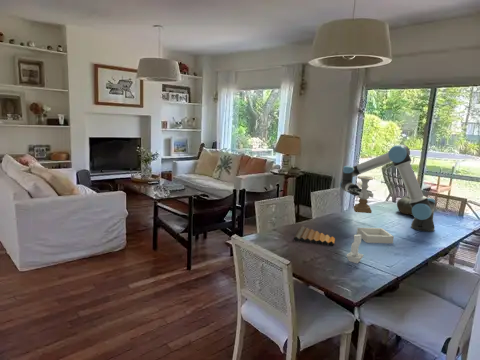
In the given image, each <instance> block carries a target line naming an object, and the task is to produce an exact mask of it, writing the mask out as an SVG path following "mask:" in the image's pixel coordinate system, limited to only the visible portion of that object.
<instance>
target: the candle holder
mask: <svg viewBox="0 0 480 360" xmlns="http://www.w3.org/2000/svg"><path fill="white" fill-rule="evenodd" d="M357 179H359V180H360V182H362V183H361V185H360V189H362V190H361V192H360V193H363V198H361V197H359V196H357V197H358V203H355V204H354V205H353V211H354V212H355V213H362V214H372V211H373V210H372V209H371V207H370V205H369V204H368V202H369V201H368V199H369V198H370V196H369V194H368V192H367V190H368V189H369V185H368V184H369V182H370V181H373V180H374V177H372V176H366V175H365V176H364V175H357Z"/></svg>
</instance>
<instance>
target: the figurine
mask: <svg viewBox="0 0 480 360" xmlns="http://www.w3.org/2000/svg"><path fill="white" fill-rule="evenodd" d="M361 244H362V235H360V234H358V235H357V234H354V235H353V242H352V243H351V247H350V252H348V253H347V254H346V258H347V260H348V261H349V262H351V263H354V264H359V263H360V262H361V260H362V259H363V257H365V256H364V255H365V254H362V253H360V252H359V249H360V248H359V247H360V245H361Z"/></svg>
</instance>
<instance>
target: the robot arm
mask: <svg viewBox="0 0 480 360" xmlns="http://www.w3.org/2000/svg"><path fill="white" fill-rule="evenodd" d="M390 163H392V164H393V167H394V168H397V169H398V172H399V175H400V177H401V179H402V182H403V185H404V187H405V190H406V192H407V195H409V197H410V199H411V201H410V205H411V208H412V214H413V215H412V216H413V217H414V218H413V219H412V222H411V225H410V227H411V228H412V229H413V230H416V231H419V232H426V233H427V232H434V231H435V224H434V213H435V204H436V199H434V198H431V197H427V196H425V195H424V193H423V191H422V188H421V186H420V183H419V181H418V179H417V176H416V174H415V172H414V169H413V168H412V165H411V163H412V159H411V149H410V148H409V147H408V146H407V145H405V144H396V145H394V146H392V147H391V148H390V149H389V150H388V152H386V153H383V154H381V155H379V156H376V157H374V158H371V159H369V160H366V161H364V162H362V163H359V164H357V165H354V166H351V165H344V166H343V169H342V178H341V181H340V183H339V188H340V189H341V190H343V191H344V192H347V193H348V194H351V195H352V196H354V197H358V196H359V197H361V198H363V193H360V192H361V190H362V188H361V187H359V185H357V184H355V183H353V179H354V178H353V177H358V176H360V175H362V174H364V173H367V172H370V171H371V170H375V169H377V168H379V167H381V166H385V165H387V164H388V165H389V164H390ZM367 192H368V194H369V198H372V199H373V198H374V193H373V192H372V191H371V190H368V189H367ZM359 197H358V198H359Z"/></svg>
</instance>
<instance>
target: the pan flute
mask: <svg viewBox="0 0 480 360" xmlns="http://www.w3.org/2000/svg"><path fill="white" fill-rule="evenodd" d="M294 240H295V242H300V241H301V242H302V243H304V242H305V243H307V244H308V243H311V244H317V245H323V246H331V247H334V245H335V241H336V238H335V237H334V236H332V235H331V237H330V235H329V234H326V235H325V234H324V233H323V232H321V233H320V232H319V231H318V230H314V229H312V228H311V229H310V228H309V227H305V226H304V225H301V226H299V228H298V230H297V231H296V233H295V235H294V237H293V241H294Z"/></svg>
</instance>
